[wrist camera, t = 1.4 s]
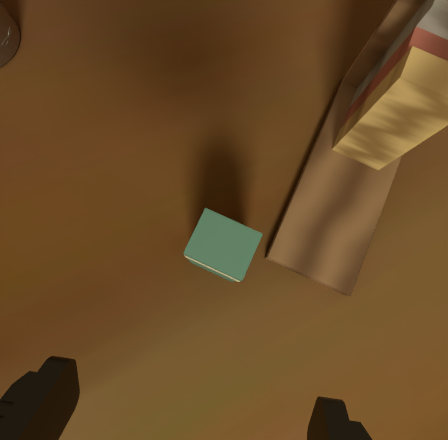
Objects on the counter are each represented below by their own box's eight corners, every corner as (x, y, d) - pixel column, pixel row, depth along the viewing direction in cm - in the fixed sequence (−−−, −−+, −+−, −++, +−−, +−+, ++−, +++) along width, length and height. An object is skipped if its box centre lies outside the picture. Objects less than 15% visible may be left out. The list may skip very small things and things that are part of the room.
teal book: (190, 262, 37) (182, 253, 25) (205, 230, 38) (205, 206, 26) (231, 281, 37) (242, 281, 25) (245, 248, 37) (263, 233, 26)
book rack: (264, 258, 37) (317, 236, 20) (341, 79, 42) (438, -67, 25) (345, 295, 37) (470, 307, 19) (413, 110, 42) (563, -15, 24)
